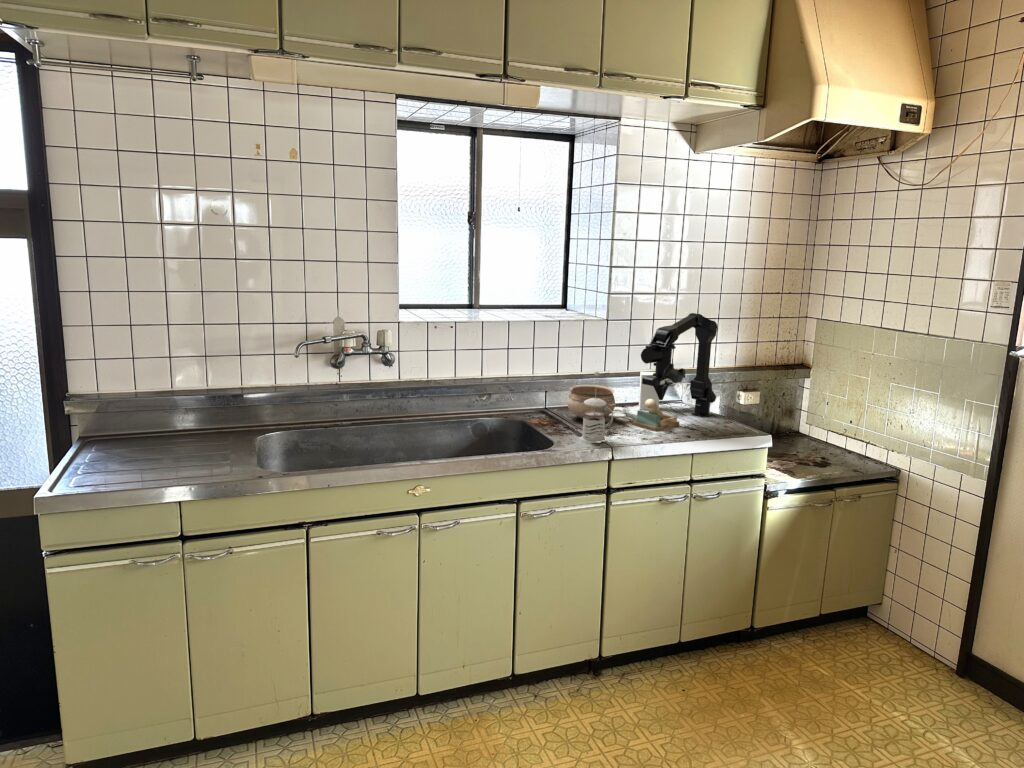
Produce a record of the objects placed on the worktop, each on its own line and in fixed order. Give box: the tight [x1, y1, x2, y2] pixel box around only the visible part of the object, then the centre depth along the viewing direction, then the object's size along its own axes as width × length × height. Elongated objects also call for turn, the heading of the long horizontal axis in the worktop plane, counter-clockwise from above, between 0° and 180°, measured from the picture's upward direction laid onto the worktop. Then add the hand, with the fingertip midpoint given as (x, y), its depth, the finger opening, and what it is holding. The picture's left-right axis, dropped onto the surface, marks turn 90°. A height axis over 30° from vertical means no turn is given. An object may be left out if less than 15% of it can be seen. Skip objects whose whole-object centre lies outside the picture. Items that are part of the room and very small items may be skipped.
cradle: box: [631, 409, 680, 432], centre depth 278 cm, size 16×11×6 cm
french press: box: [579, 371, 614, 442], centre depth 253 cm, size 10×12×25 cm
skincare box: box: [638, 371, 660, 411], centre depth 302 cm, size 8×7×16 cm
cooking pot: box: [566, 384, 617, 421], centre depth 282 cm, size 25×19×12 cm
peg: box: [644, 399, 664, 420], centre depth 276 cm, size 4×4×10 cm
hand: (660, 400), depth 278 cm, fingers closed
